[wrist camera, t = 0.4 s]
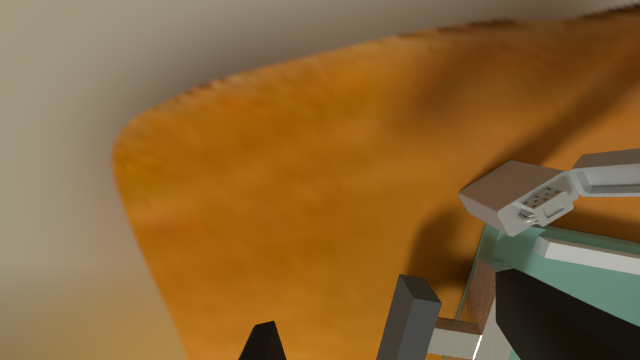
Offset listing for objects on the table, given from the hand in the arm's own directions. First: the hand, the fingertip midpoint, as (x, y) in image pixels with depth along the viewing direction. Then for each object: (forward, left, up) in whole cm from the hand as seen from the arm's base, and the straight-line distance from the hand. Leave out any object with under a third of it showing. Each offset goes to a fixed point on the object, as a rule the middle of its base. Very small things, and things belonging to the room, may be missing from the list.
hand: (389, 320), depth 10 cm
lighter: (+5, -10, -11) cm, 15 cm away
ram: (-5, -7, -9) cm, 12 cm away
